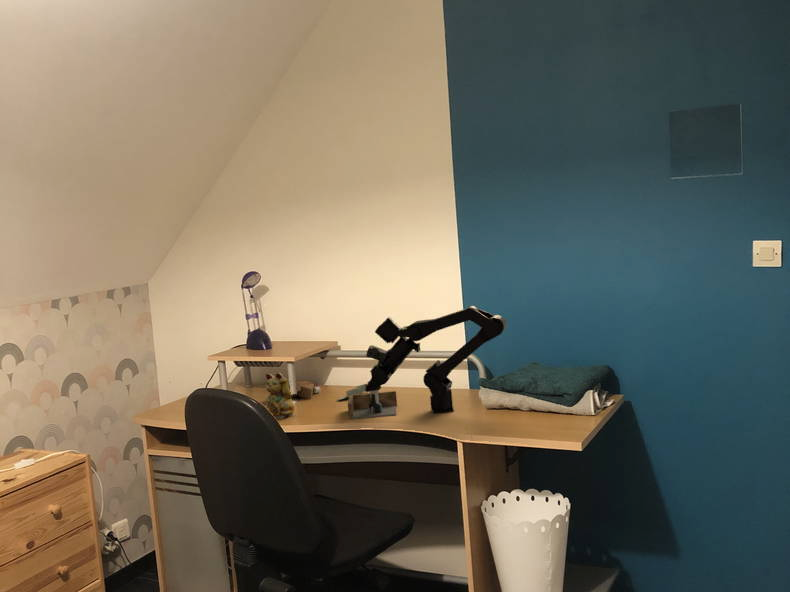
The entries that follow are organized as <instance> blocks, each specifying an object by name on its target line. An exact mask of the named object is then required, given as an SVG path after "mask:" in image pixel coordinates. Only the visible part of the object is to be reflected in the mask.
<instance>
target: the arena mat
mask: <svg viewBox="0 0 790 592" xmlns="http://www.w3.org/2000/svg"><path fill="white" fill-rule="evenodd" d="M391 416H397V406H396V405H393V406H382V412H380V413H375V412H371V411H370V409H368V408H360V409H354V413H353V419H352V420H358V419H367V418H368V419H369V418H379V417H391Z"/></svg>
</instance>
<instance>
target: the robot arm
mask: <svg viewBox="0 0 790 592" xmlns="http://www.w3.org/2000/svg"><path fill="white" fill-rule="evenodd" d="M469 321H471V322H473V323H474V324H476V325H477V326H479V327H480V329H479V331H478V332H477V333H476V334H475V335H474V336H473V337H472V338H471V339H469V340H468V341H467V342H466V343H464V344H463V345H462V346H461V347H460V348H459V349H458V350H456V351H455V352H454V353H453V354H451V356H450V357H447V359H446V360H444V361H442V362H441V361H440V360H439V359H437V360H436V361H435V363H433V364H432V365H431V366H429V367H428V368H427V369H426V370H425V373H424V375H423V384H424V385H425V387H427V388H428V390H429V391H430V394H431V395H430V396H429V400H430V409H431V411H432V412H433V414H436V413H447V412H454V411H455V410H454V405H453V404H454V403H453V394H452V393H453V392H452V389H451V388H452V385H453V381H452V380H451V379H450V378H449V377H448V376H449V375H450V374H451V373H452V371H453V370H454V369H455V368H456V367H458V366H459V365H461V363H462V362H464V361H465V360H466V359H467V358H469V357H470V355H472V354H473V353H474V352H475V351H477V350H478V349H479V348H480V347H481V346H483V345H484V344H485V343H487V342H489V341H491V340H494V339H495V338H497V337H498V336H500V335H502V333H503V332H504V331H505V329H506V327H507V320H506V319H505V317H503V316H502V315H499V314H495V315H494V314H492V313H490V312H487V311H486V310H485V311H484V310H482V309H479V308H477V307H476V306H475V305H471V306H470V305H469V307H467V308H464V309H461V310H458V311H455V312H452V313H449V314H446V315H442V316H440V317H439V316H438V317H436V318H431V319H422V320H416V321H414V322H413V323H410V324H409V325H407V326H406V325H405V326H403V327H401V326H400V325H399V324H397V323H396V322H395V321H394V320H393V319H392V317H391V316H390V317H387V318H386V319H385V320H384V321H383V322H382V323H381V324H379V326H378V327H377V328H376V329H375V331H374V333H375V334H376V335H377V336H378V337H380V338H381V339H382V340H383V341H384V342H385V344H390V343H391V344H393V346H392V347H391V348H388V350H385V349H383V348H380V347H378V346H375V345H372V344H371V345H369V346H368V349H367V350H366V354H365V357H367V358H369V359H370V358H371V359H373V360H376V361H377V364H375V365H374V366H373V367H372V368H371V369H370V375H371V378H370V380H369V383H367V384H368V385H367V387H366V389H365V391H366V392H365V393H368V392H369V391H371V390H373V389H375V388H377V387H379V386H381V387H382V386H383V385H386V383H388V381H389V380H390V379H391V377H392V375H394V373H395V372H396V371H397V370H398V368H399V367H400V366H402V364H403V362H405V360H406V358H408V356H409V355H410V354H411V353H412V352H413V351H414V352H416V353H419V352H420V351H421V342H419V341H421V340H423V339H425V338H426V337H429V336H430V335H432V334H434V333H435V332H439V331H441V330H445V329H447V328H450V327H453V326H456V325H460V324H461V323H465V322H469ZM396 340H397V341H396ZM369 393H370V392H369Z"/></svg>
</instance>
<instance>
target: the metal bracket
mask: <svg viewBox="0 0 790 592" xmlns="http://www.w3.org/2000/svg"><path fill="white" fill-rule="evenodd" d="M366 384H367V383H364V384H360V385H358V386H356V387H355V388H353V389H348V390H347V391H345V392H346V395H345V396H342V397H340V398H338V399H336V401H335V402H338V401H342V400H343V399H346V398H349V395H355V394H363V393H367V392H366V391H365V389H366V387H365V385H366Z"/></svg>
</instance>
